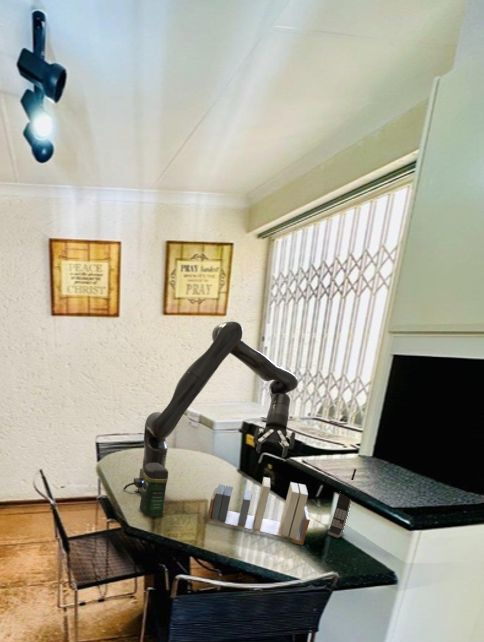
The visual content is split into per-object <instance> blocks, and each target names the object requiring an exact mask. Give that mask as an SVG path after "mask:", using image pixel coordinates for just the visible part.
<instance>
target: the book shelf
mask: <svg viewBox="0 0 484 642" xmlns="http://www.w3.org/2000/svg"><path fill="white" fill-rule="evenodd" d="M217 488H218V487H214V490H213V492H212V495H211V498H210V502H209V508H208V513H207V519H206V520H208V521H213V522H216V523H217V522H218V523H221V524H226V525H230V526H234V527H238V528H244V529H248V530H251V531H257V532H262V533H265V534H270V535H274V536H278V537H282V538H287V539H292V544H296V545H300V546H304V543H305V540H306V535H307V532H308V528H309V525H310V522H311V518H310V514H309V510H308V507H307V505H305V508H304V512H303V516H302V519H301V523H300V527H299V531H298V534H297V538H293V537H289V535H288V536H284V535H281V524H280V522H281V521H278V520H273V519H269V518H264V517H263V521H262V525H261V529H260V530H258V529H254V518H255V515H250V514H248V515H247V520H246V524H245V526H240V525H238V522H239V516H240V512H236V511H232V510H228V513H227V517H226V521H225V522H223V521H219V518H218V520H214V519H211V516H212V511H213V506H214V500H215V495H216V491H217ZM219 515H220V514H219Z"/></svg>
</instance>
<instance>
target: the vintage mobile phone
mask: <svg viewBox="0 0 484 642" xmlns="http://www.w3.org/2000/svg"><path fill="white" fill-rule="evenodd" d="M352 472H353V473H352V476H351V478H350V481H351V480H353V481H354V479H355V476H356V473H357V468H354V469H353V471H352ZM350 504H351V499H350V498H348V497H347V496H345V495H344V494H341V493H340V492H339V494H338V497H337V502H336V506H335V509H334V513H333V516H332V519H331V523H330V527H329V528H328V530H327V535H329V536H331V537H334V538H335V539H339V538H340V537H341V536H342V535H343V534H344V532H343V530H344V531H345V529H344V526H345V523H346V519H347V516H348V512H349V508H350ZM348 517H349V516H348ZM347 520H348V519H347ZM346 524H347V523H346ZM345 527H346V526H345Z"/></svg>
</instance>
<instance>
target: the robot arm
mask: <svg viewBox="0 0 484 642" xmlns="http://www.w3.org/2000/svg"><path fill="white" fill-rule="evenodd" d="M243 334H244V329H243V326H242V324H241V323H239V322H237V321H234V320H233V321H226V322H221V323H219V324H217V325H215V327H214V328H213V329H212V332H211V339H212V343H211V345H210V346H209V347H208V348H207V349H206V350H205V352H204V353H203V354H201V355H200V356H199V357H198V358H197V359H196V360H195V361H193V362H192V363H191V364H190V365H189V366H188V368H187V369H186V371H184V373H183V374H182V375H181V377H180V378H179V380H178V381H177V383H176V385H175V388H174V390H173V394H172V397H171V399H170V401H169V403H168V404H167V406H166V407H165V408H164V409H163V410H162V412H160V411H155V412H152V413H150V414H149V415H148V416H147V417H146V419H145V423H144V433H143V447H144V449H143V458H142V466H141V468H140V469H139V474H138V475H139V476H138V477H134V478H133V482H130V483H127V484H126V485H125V486H124V487H123V490H126V489H127V488H128V487H131V486H133V485H134V487H135V488H136V489H137V491H138V492H139V493H140V494H142V487H143V479H144V468H145V465H147V464H148V463H159V464H160V465H162V466H163V467H165V468H166V463H167V457H168V445H167V441H166V439H167V438H168V437H170V435H171V434H172V433H173V432H174V430H175V429H176V427H177V426H178V424H179V423H180V420H181V419H182V417H183V416H184V414H185V412H186V411H187V410H188V408H189V407H190V406H191V405H192V403H193V402H194V401H195V399H196V398H197V397H198V396H199V394H200V393H201V392H202V391H203V389H204V388H205V386H206V385H207V384H208V382H209V381H210V380H211V378H212V377H213V376H214V374H215V373H216V371H217V370H218V368H219V367H220V366H221V364H222V363H223V362H224V360H225V359H226V358H227V357H228V356H229V355H232V356H234V357H235V358H236V359H238V360H239V361H240V362H242V363H243V364H244V365H245V366H246V367H247V368H248V369H250V370H251V371H252V372H253V373H254V374H255V375H257V376H258V377H259V378H260V379H261V380H262V381H264V382H270V384H269V386H268V390H269V397H270V403H269V408H268V411H267V415H266V421H265V426H264V428H261V427H260V426H256V428H255V430H254V431H255V432H254V434H253V438H252V443H253V444H256V449H255V451H256V452H257V454H261V449H262V444H263V443H265V442H266V441H268V442H273V443H279V444H280V445H281V447H282V448H283V449H282V454H281V458H283V459H284V458H285V457H287V455H288V452H289V449H290V450H292V449H294V446H295V443H296V442H295V441H296V432H295V431H292V432H287V427H288V422H289V415H290V407H291V406H290V405H291V397H290V396H289V394H288V393H290V392H292V391H295V389H297V387H298V385H299V382H298V378H297V377H296V375H295V374H294V373H292V372H290V371H288V370H286V369H285V368H283V367H280V366H278V365H276V364H275V363H274V362H273V361H272V360H270V359H269V357H267V356H266V355H265V354H263V353H262V352H260V351H258V350H256V349H254V348H252V347H251V346H250V345H249V344H247V343H246V342H245V341H243V340H242V339H243ZM260 434H263V435H262V436H261V437H260V438H258V437H259V435H260ZM287 438H288V439H289V443H288V441H287Z"/></svg>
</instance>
